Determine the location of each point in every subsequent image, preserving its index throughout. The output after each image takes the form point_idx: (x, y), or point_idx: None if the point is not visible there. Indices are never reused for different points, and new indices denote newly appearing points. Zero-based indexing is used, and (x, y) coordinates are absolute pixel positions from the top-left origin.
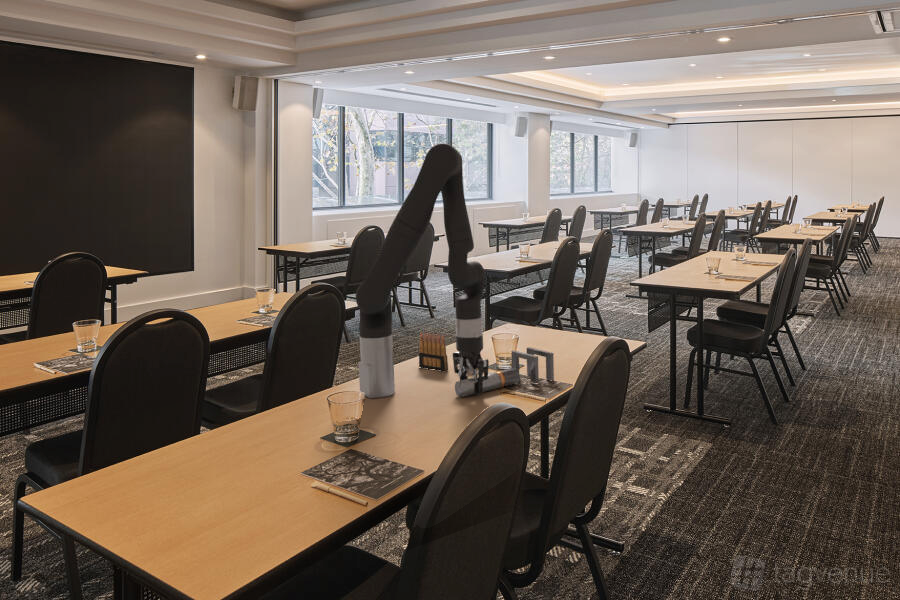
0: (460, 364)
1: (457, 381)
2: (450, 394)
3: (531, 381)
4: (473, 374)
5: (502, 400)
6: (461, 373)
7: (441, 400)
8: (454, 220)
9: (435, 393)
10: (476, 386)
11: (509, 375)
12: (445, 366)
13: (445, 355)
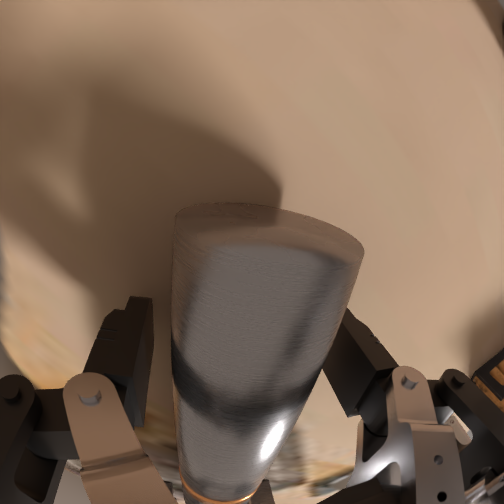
0: (449, 484)
1: (341, 265)
2: (364, 214)
3: (169, 489)
4: (120, 458)
5: (22, 337)
6: (393, 402)
7: (316, 57)
8: None
9: (440, 172)
10: (114, 343)
11: (188, 498)
12: (481, 384)
13: (498, 405)
